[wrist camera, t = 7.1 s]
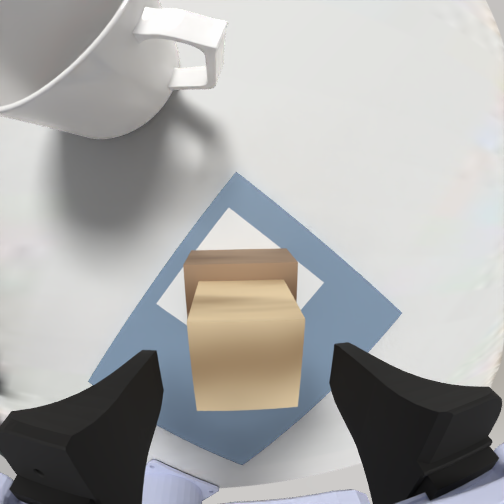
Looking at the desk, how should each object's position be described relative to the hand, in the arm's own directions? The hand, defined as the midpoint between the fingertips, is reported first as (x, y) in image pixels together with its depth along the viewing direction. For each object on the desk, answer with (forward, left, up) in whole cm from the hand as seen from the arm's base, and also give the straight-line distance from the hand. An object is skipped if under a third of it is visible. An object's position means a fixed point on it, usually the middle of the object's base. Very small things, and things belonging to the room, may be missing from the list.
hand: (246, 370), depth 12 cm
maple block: (0, 0, -5) cm, 5 cm away
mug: (+7, +14, -9) cm, 18 cm away
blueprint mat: (-4, -3, -9) cm, 10 cm away
